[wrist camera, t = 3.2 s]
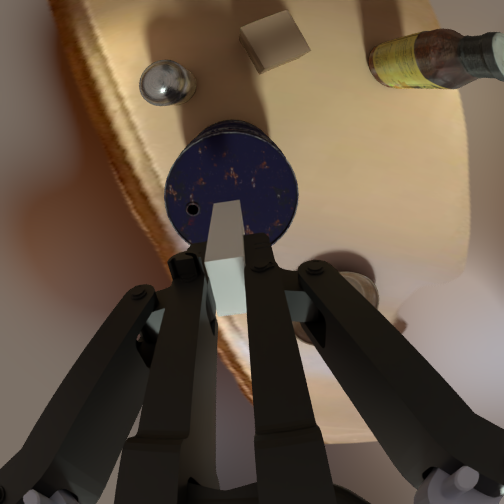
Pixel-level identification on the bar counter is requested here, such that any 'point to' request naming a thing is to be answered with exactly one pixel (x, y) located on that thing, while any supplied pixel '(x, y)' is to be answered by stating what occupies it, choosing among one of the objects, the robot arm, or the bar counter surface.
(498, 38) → the sauce bottle
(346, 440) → the bar counter surface
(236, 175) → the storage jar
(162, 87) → the metal shaker
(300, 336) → the saucer
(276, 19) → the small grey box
